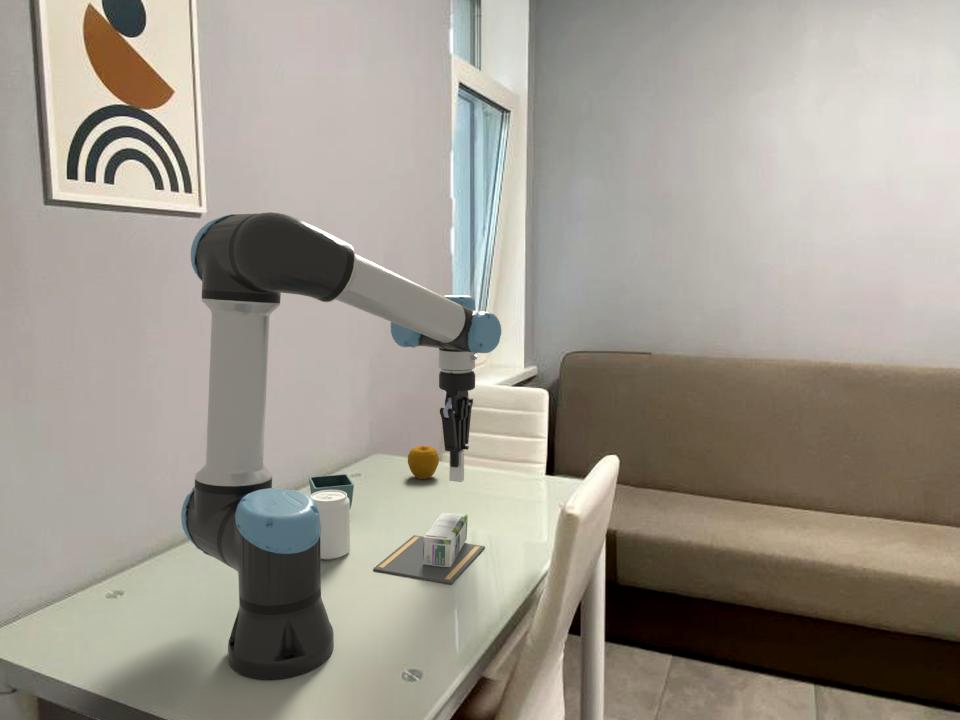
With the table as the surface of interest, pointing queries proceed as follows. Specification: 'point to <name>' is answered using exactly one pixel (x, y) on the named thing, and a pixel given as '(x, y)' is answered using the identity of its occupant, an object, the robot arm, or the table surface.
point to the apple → (423, 461)
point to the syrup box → (445, 540)
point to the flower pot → (332, 484)
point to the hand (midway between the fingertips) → (456, 480)
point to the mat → (411, 565)
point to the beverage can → (333, 522)
